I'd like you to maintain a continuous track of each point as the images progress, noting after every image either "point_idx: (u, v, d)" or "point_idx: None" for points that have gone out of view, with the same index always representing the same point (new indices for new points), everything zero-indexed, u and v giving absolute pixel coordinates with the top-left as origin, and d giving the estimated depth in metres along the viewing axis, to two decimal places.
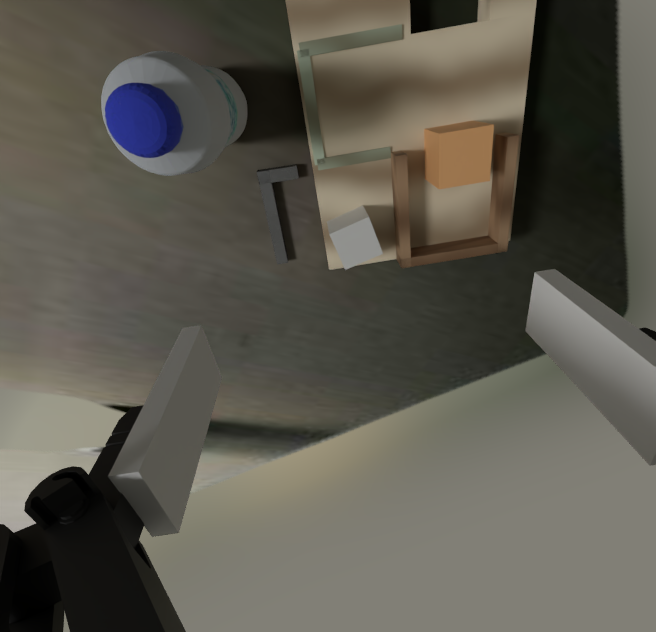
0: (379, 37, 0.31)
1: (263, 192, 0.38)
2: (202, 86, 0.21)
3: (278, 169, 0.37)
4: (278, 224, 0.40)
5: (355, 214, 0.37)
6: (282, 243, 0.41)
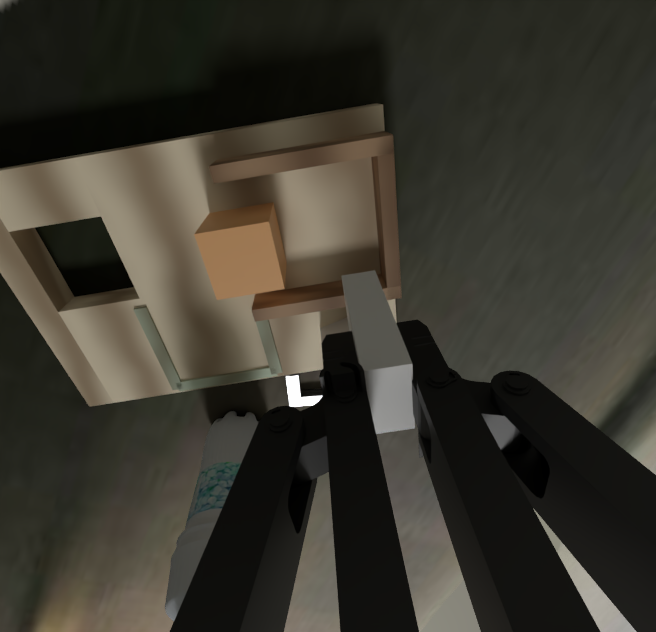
0: (150, 327, 0.30)
1: (309, 403, 0.38)
2: (180, 581, 0.25)
3: (288, 390, 0.37)
4: None
5: None
6: None
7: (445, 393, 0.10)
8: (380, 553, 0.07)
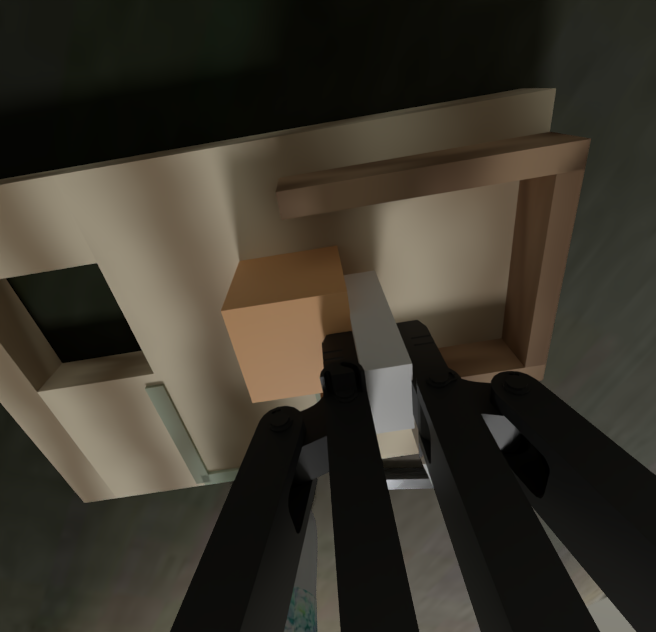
0: (168, 411, 0.21)
1: None
2: None
3: None
4: (417, 480, 0.29)
5: None
6: None
7: (445, 393, 0.10)
8: (380, 553, 0.07)
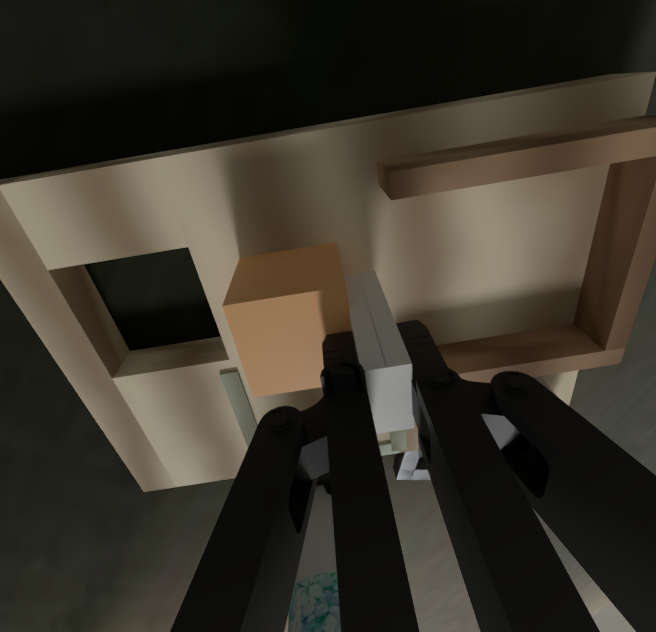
0: (239, 397, 0.21)
1: (422, 478, 0.29)
2: None
3: (403, 460, 0.28)
4: None
5: None
6: None
7: (445, 393, 0.10)
8: (380, 554, 0.07)
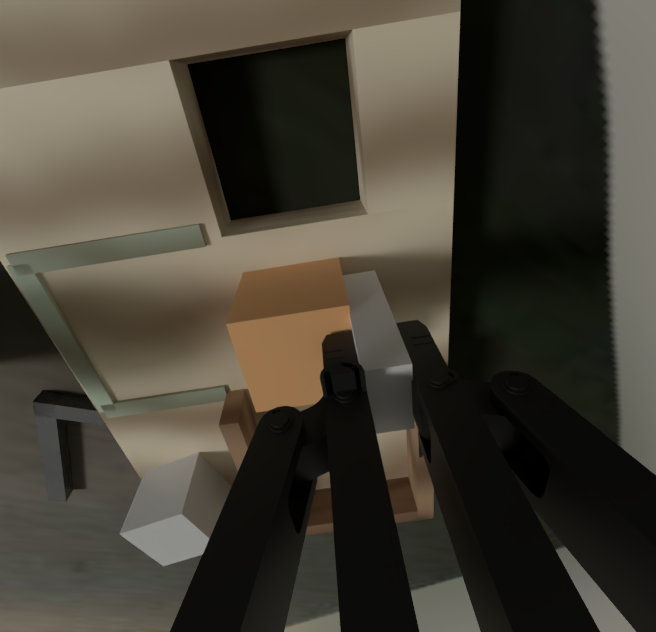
0: (161, 244, 0.16)
1: (40, 425, 0.24)
2: None
3: (72, 407, 0.23)
4: (59, 462, 0.25)
5: (176, 482, 0.22)
6: (61, 482, 0.27)
7: (445, 393, 0.10)
8: (380, 554, 0.07)
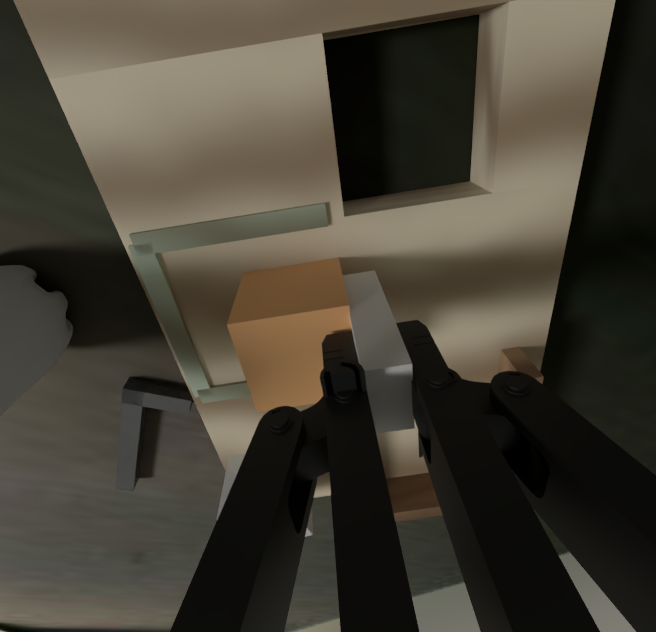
0: (285, 224, 0.16)
1: (125, 412, 0.23)
2: None
3: (160, 395, 0.23)
4: (135, 451, 0.25)
5: None
6: (133, 470, 0.26)
7: (445, 393, 0.10)
8: (380, 553, 0.07)
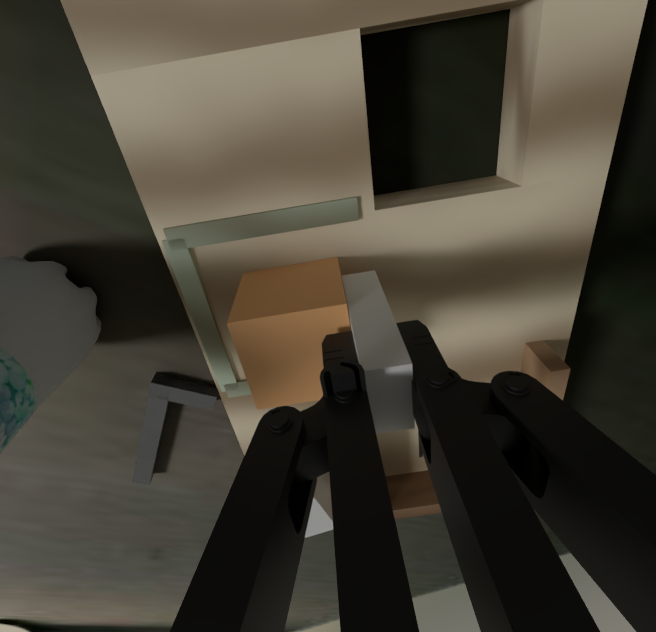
0: (316, 218, 0.16)
1: (150, 406, 0.24)
2: None
3: (187, 391, 0.23)
4: (155, 444, 0.26)
5: None
6: (151, 464, 0.27)
7: (445, 393, 0.10)
8: (380, 554, 0.07)
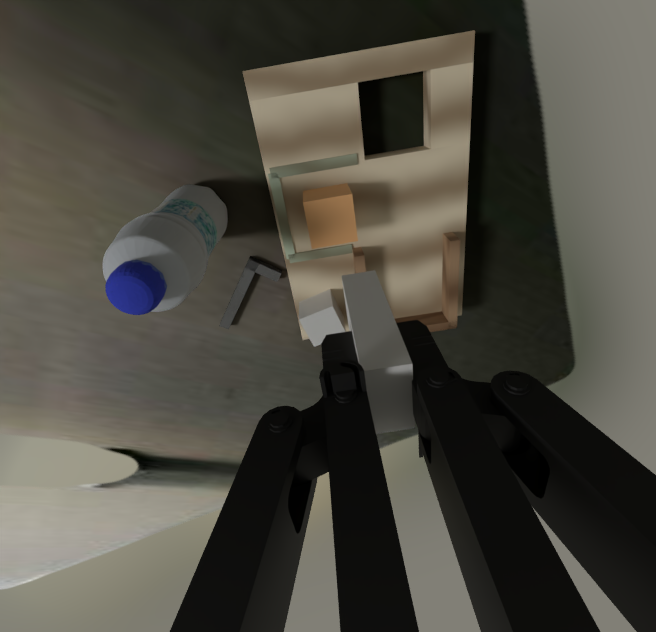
0: (338, 163, 0.36)
1: (244, 274, 0.44)
2: (182, 249, 0.26)
3: (266, 267, 0.43)
4: (240, 301, 0.45)
5: (322, 299, 0.42)
6: (233, 314, 0.46)
7: (445, 393, 0.10)
8: (380, 553, 0.07)
